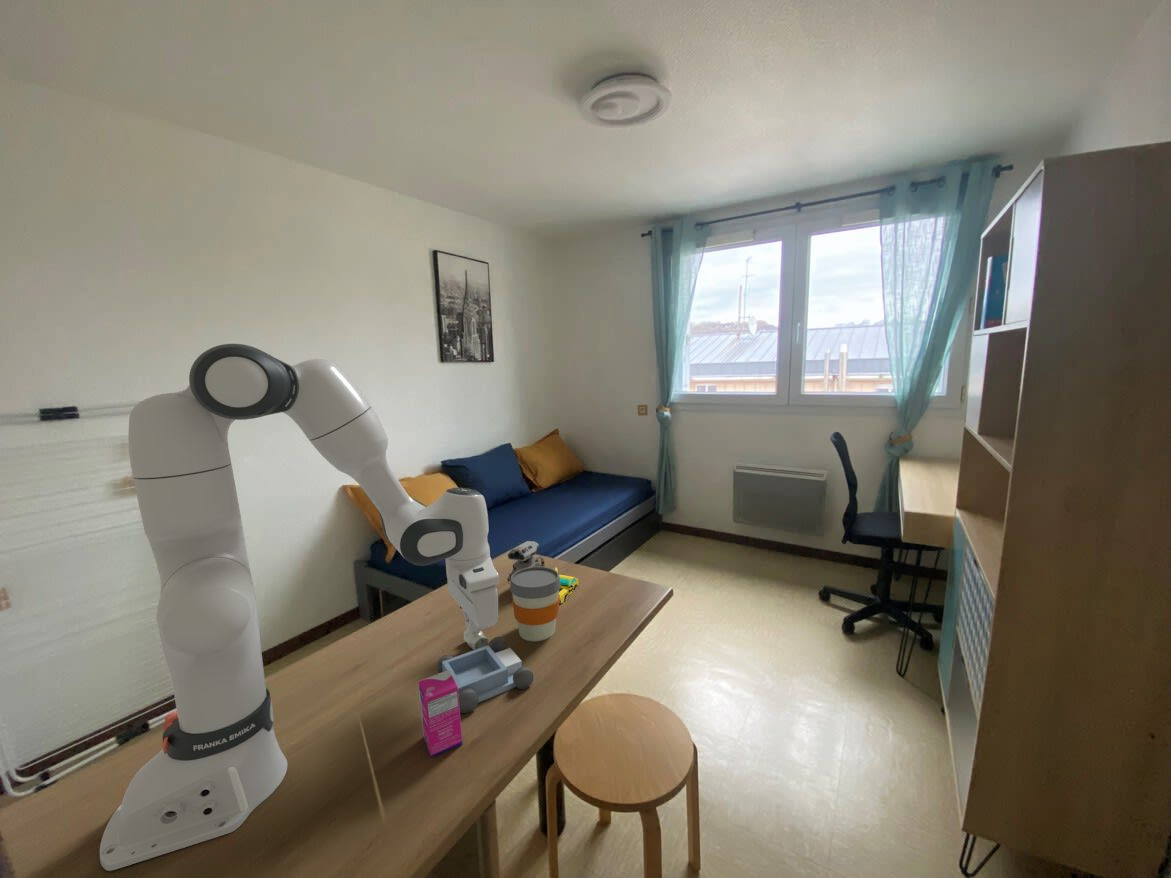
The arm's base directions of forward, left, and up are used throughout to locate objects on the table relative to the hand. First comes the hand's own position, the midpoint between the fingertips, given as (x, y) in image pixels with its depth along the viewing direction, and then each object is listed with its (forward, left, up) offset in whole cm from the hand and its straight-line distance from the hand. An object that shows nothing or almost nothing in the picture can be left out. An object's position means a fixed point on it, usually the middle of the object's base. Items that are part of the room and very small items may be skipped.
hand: (472, 628), depth 97 cm
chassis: (+2, 0, -12) cm, 13 cm away
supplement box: (-11, -12, -13) cm, 20 cm away
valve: (+5, +13, -13) cm, 19 cm away
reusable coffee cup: (+20, +10, -13) cm, 26 cm away
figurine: (+27, +32, -13) cm, 44 cm away
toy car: (+35, +23, -13) cm, 44 cm away
